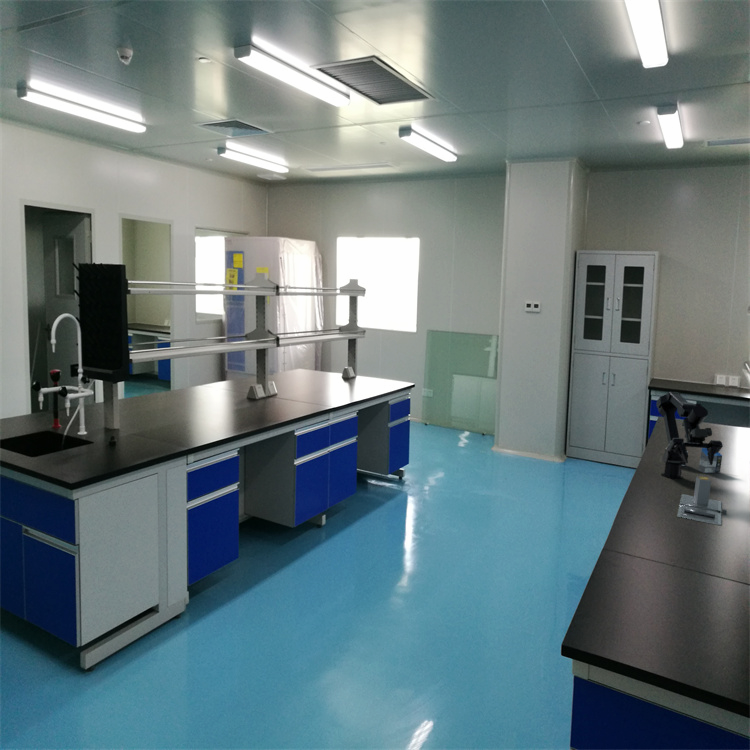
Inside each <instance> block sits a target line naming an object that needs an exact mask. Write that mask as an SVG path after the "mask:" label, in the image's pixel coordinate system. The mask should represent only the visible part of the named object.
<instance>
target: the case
mask: <svg viewBox="0 0 750 750" xmlns="http://www.w3.org/2000/svg"><path fill="white" fill-rule="evenodd" d="M693 499H694V495H689V494H683V493H681V495H680V499H679V504H678V510H677V514H676V517H677V518H681V517H682V519H686V518H687V520H691V519H692V520H691V521H697V522H701V523H706V524H711V525H716V526H722V515H724V516H726V515H727V514H728V513H727V512H728V510H727V509H726V508H722V501H721V500H717V499H716V500H715V499H710V498H709V501H708V504H697V503H696V502H695V501H694V500H693Z"/></svg>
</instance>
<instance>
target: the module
mask: <svg viewBox="0 0 750 750" xmlns="http://www.w3.org/2000/svg"><path fill="white" fill-rule="evenodd" d="M711 484H712V480H711V479H709V477H707V476H695V485H694V493H693V496H694V499H693V500H694V501H695V502H696V503H697V504H708V501H709V499H710V493H711V491H710V490H711Z"/></svg>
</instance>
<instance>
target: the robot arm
mask: <svg viewBox="0 0 750 750" xmlns="http://www.w3.org/2000/svg"><path fill="white" fill-rule="evenodd" d="M655 404H656V409H657V410H658V413H659V414H660V415H661V416H662V417H663V421H664V427H665V433H666V436H667V443H668V445H667V446H666V451H665V450H664V453H663V454H662V456H661V459H662V460H661V461H662V462H663V463H664V472H663V473H661V475H662V476H665V477H667V478H669V479H673V480H674V479H675V480H677V479H684V476H682V470H683V466H682V465H686V464H688V463H689V460H688V458H689V452H688V453H687V451H688V450H687V447H688V448H697V449H698V448H699V449H702V448H707V451H708V453H707V455H708V459H709V463H710V465H712V464H713V459H714V454H716V453H718V452H719V453H720V451H721V449H722V448H723V442H722V441H721V440H715V439H714V440H713V439H711V440H710V441H709V442H705V441H706V438H708V437H712V435H713V431H712V428H711V427H705V428H701V427H700V425H701V424H703V422H704V420H705V419H706V418H707V416H708V414H709V412H708V411H709V410H707V408H705V407H704V406H703V405H702V404H701V403H694V402H689V401H688V400H687V399H686V398H684V397H683V396H682V394H681V392H677V391H668V392H667V393H666V394H664V395H662V396H660V397H659V398H658V399H657V401H656V403H655ZM676 412H677V414H678V415H679V417H680V418H683V421H682V424H681V426H682V427H683V429H684V438H685V440H686V441H685V440H684V438H681V437H680V435H679V430H678V424H677V419H676V418H677V417H676V415H675V414H676ZM686 466H687V465H686Z"/></svg>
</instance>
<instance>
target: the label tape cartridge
mask: <svg viewBox="0 0 750 750" xmlns="http://www.w3.org/2000/svg"><path fill="white" fill-rule="evenodd" d="M700 449H701V451H700V457H699V464H698V465H699V466H698V470H697V471H698V472H700V473H703V474H717V473H718V474H719V473H721V469H722V468H721V467H722V461H723V455H722V454H721V453H720V451H719V452H718V453H716V454H714V459H713V464H712V465H710V463H709V459H708V455H707V453H708V451H707V448H700Z"/></svg>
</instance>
